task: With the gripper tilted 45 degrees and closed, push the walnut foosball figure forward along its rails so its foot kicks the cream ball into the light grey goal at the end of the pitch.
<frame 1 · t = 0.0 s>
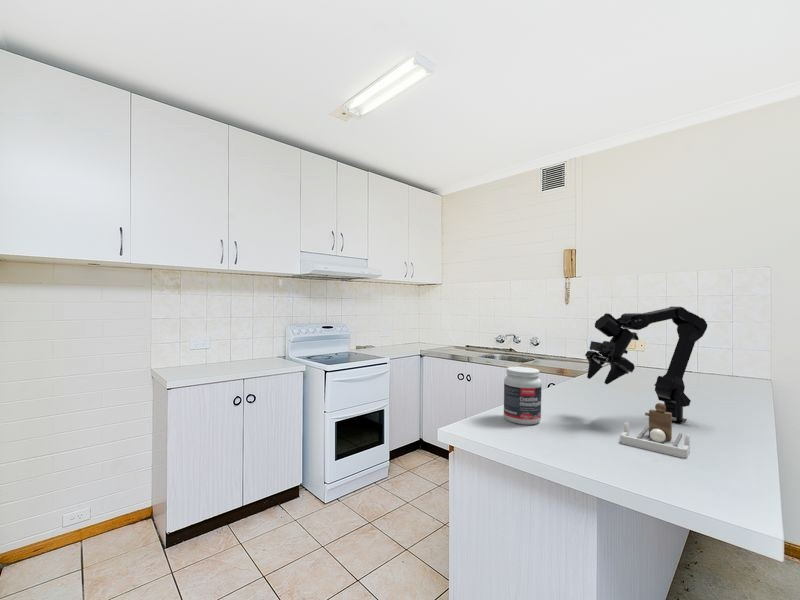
hand: (596, 380, 134), 15 cm above the worktop, tool tilted 35°, fingers open, 9 cm apart
figure: (660, 420, 118), point 6 cm above the worktop, slide at 0.0 cm
goal: (653, 450, 110), resting on pitch
supplement tub: (522, 420, 136), on the worktop
ball: (657, 435, 115), point 3 cm above the worktop, touching pitch
pitch: (658, 443, 115), on the worktop
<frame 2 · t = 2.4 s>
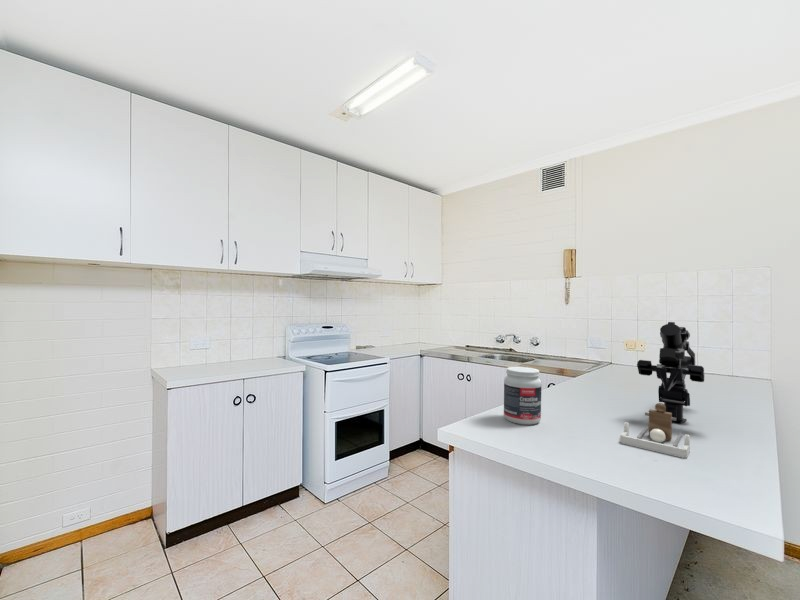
hand: (666, 390, 127), 14 cm above the worktop, tool tilted 45°, fingers closed
nothing on the worktop moved.
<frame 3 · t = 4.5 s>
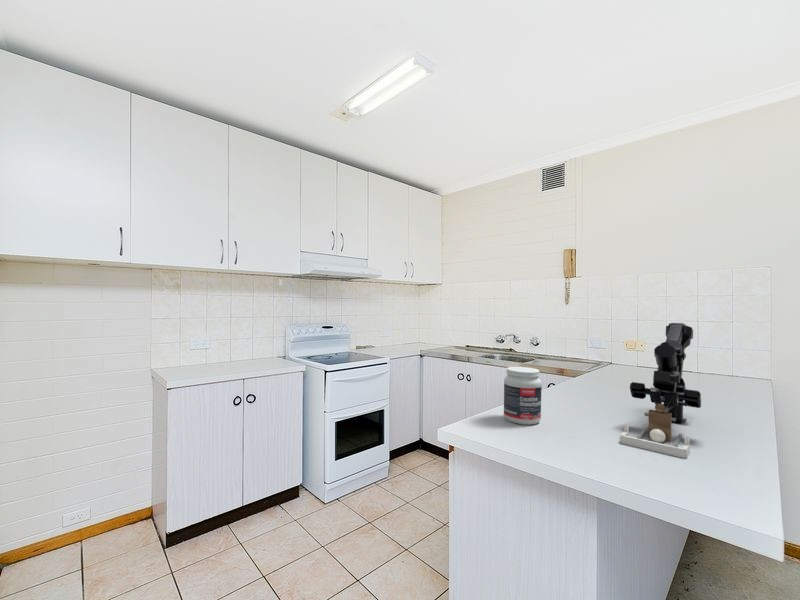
hand: (660, 416, 119), 7 cm above the worktop, tool tilted 45°, fingers closed, pressing on figure
figure: (659, 420, 117), point 6 cm above the worktop, slide at 0.6 cm, touching gripper
everything else where it was.
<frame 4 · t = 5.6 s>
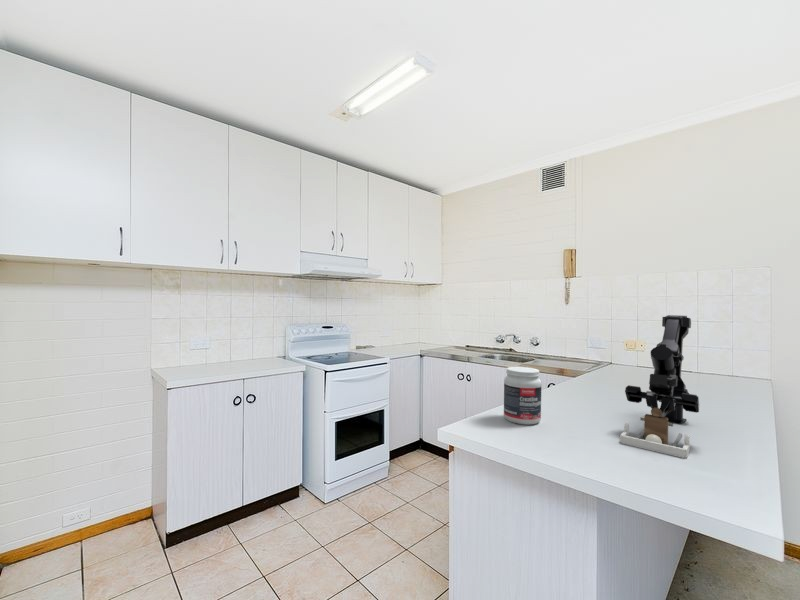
hand: (657, 421, 114), 7 cm above the worktop, tool tilted 45°, fingers closed
figure: (656, 425, 112), point 6 cm above the worktop, slide at 7.2 cm
ball: (653, 441, 110), point 3 cm above the worktop, tilted 170°, touching pitch
everything else where it was.
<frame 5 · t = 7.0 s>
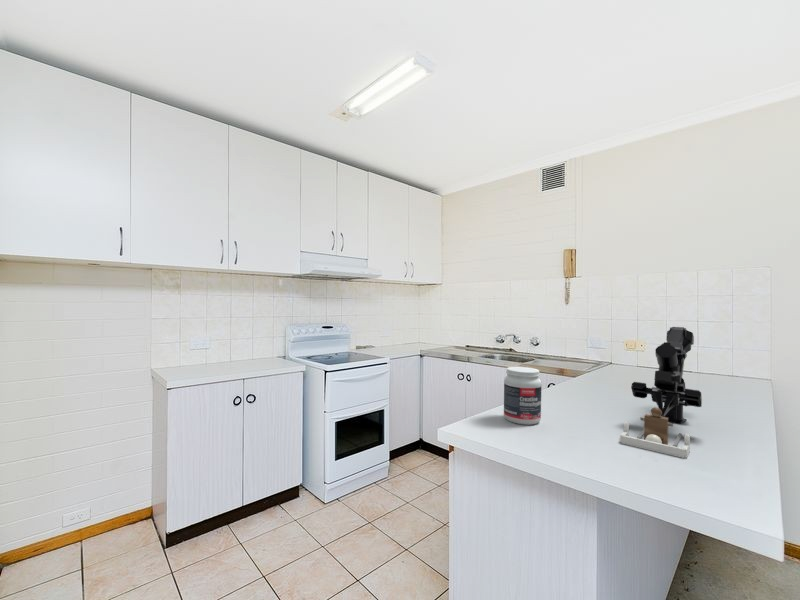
hand: (662, 415, 120), 7 cm above the worktop, tool tilted 45°, fingers closed
nothing on the worktop moved.
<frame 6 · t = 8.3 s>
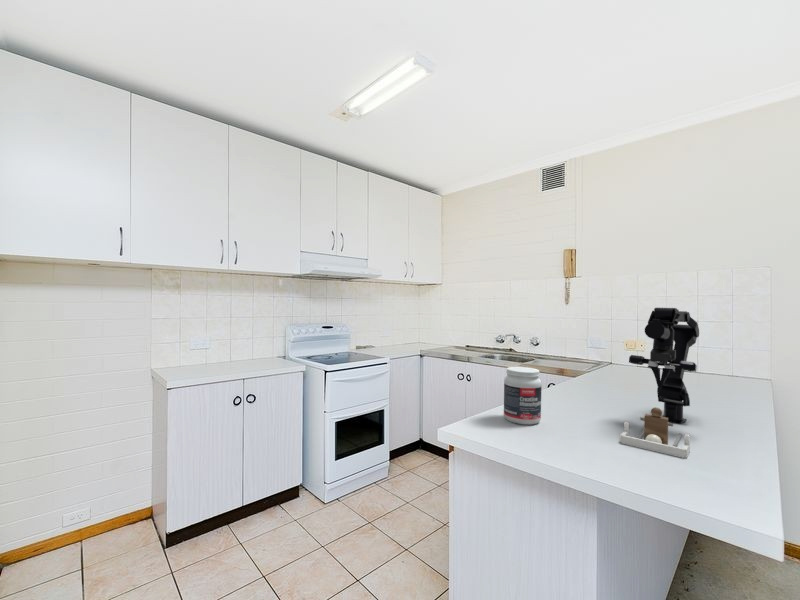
hand: (659, 388, 129), 14 cm above the worktop, tool pointing down, fingers closed
nothing on the worktop moved.
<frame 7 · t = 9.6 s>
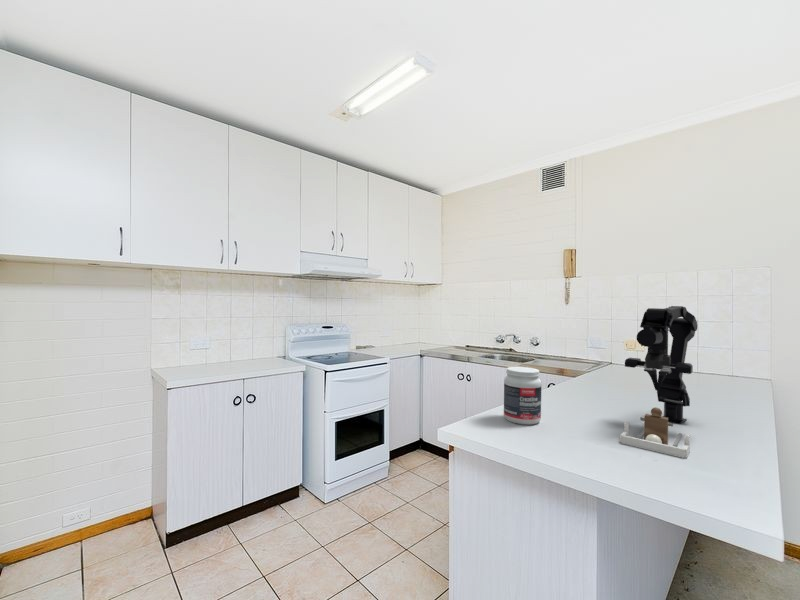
hand: (657, 390, 129), 13 cm above the worktop, tool pointing down, fingers closed
nothing on the worktop moved.
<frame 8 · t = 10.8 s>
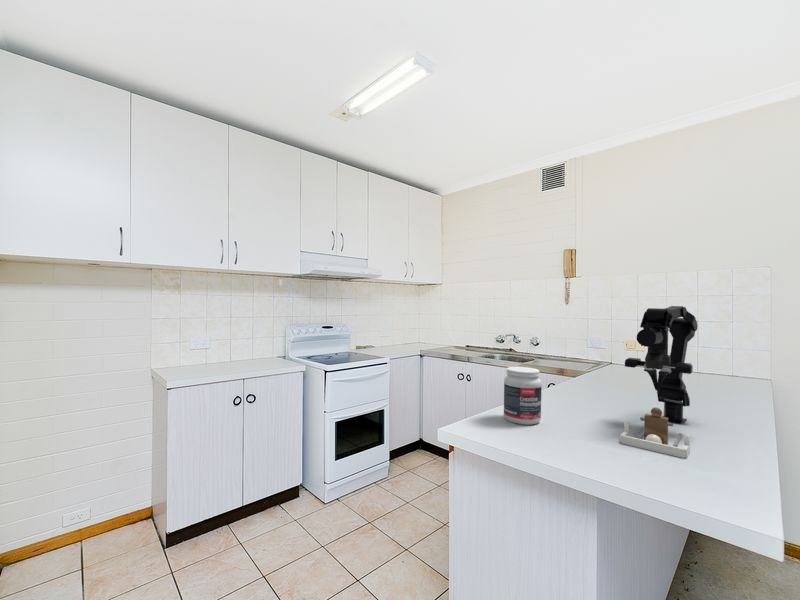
hand: (657, 390, 129), 13 cm above the worktop, tool pointing down, fingers closed
nothing on the worktop moved.
at the end: ball inside the target area on the goal (0.6 cm from its centre), point 2.6 cm above the goal's base; figure slide at 7.2 cm; ball moved 6.8 cm from its start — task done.
